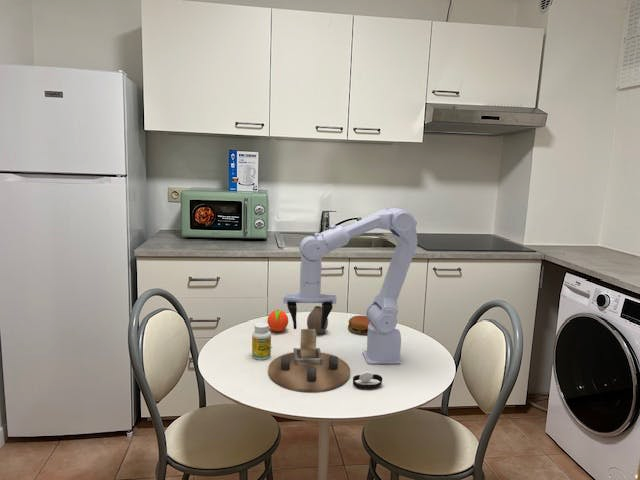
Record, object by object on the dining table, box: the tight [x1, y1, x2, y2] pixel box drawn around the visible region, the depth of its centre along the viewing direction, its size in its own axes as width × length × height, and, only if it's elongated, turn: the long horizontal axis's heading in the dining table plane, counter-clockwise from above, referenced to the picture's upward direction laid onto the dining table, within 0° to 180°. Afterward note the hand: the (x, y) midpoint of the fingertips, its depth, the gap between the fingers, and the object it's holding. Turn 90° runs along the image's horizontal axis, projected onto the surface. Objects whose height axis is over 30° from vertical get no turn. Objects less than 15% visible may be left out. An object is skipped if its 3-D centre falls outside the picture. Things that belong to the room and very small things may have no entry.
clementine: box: [266, 309, 289, 332], centre depth 153 cm, size 8×7×7 cm
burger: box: [347, 315, 370, 335], centre depth 157 cm, size 10×9×5 cm
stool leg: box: [299, 328, 317, 358], centre depth 131 cm, size 4×4×8 cm
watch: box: [352, 370, 383, 390], centre depth 119 cm, size 8×5×4 cm, turn 100°
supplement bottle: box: [251, 321, 272, 361], centre depth 133 cm, size 5×5×10 cm
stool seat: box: [267, 347, 351, 393], centre depth 126 cm, size 22×22×4 cm
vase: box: [306, 305, 329, 336], centre depth 153 cm, size 7×7×9 cm
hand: (308, 327), depth 130 cm, fingers open, 7 cm apart
